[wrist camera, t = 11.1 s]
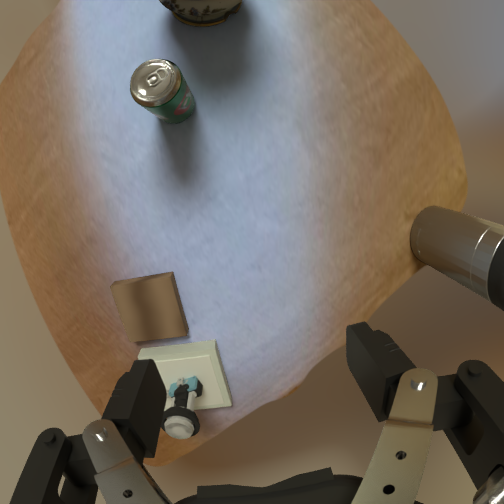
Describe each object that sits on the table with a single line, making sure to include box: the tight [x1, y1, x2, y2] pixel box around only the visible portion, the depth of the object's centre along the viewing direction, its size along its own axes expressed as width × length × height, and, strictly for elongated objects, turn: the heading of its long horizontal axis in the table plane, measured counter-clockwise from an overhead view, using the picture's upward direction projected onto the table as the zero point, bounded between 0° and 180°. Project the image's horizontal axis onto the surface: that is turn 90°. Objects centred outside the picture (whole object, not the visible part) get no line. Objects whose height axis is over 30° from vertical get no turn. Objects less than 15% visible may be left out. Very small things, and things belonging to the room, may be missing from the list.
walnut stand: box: [110, 272, 189, 342], centre depth 39 cm, size 9×9×2 cm
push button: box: [161, 376, 203, 439], centre depth 37 cm, size 7×5×10 cm
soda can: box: [130, 59, 195, 124], centre depth 28 cm, size 5×5×12 cm
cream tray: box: [138, 339, 232, 411], centre depth 43 cm, size 12×12×3 cm
